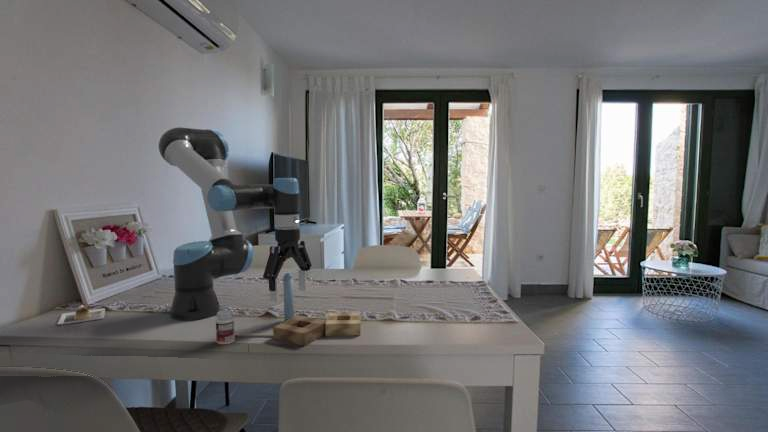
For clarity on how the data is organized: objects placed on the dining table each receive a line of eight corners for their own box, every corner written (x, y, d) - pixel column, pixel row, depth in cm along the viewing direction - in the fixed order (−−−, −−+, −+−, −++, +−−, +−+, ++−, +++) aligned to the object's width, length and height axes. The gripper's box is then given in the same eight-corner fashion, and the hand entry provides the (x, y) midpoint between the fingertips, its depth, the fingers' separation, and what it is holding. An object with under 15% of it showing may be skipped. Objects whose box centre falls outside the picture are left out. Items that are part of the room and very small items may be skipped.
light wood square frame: (325, 335, 124) (325, 323, 123) (328, 323, 134) (328, 312, 133) (360, 335, 124) (360, 323, 124) (360, 323, 134) (360, 312, 134)
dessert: (103, 321, 137) (103, 306, 137) (57, 327, 131) (56, 312, 131) (105, 311, 148) (104, 297, 147) (62, 316, 141) (61, 302, 141)
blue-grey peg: (282, 322, 135) (281, 273, 134) (288, 319, 138) (287, 271, 136) (289, 323, 134) (288, 274, 132) (296, 320, 136) (295, 272, 135)
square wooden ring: (273, 338, 121) (273, 326, 121) (298, 326, 131) (297, 315, 131) (304, 346, 116) (304, 333, 116) (328, 332, 126) (328, 321, 126)
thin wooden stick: (220, 336, 123) (220, 334, 123) (222, 335, 124) (221, 333, 124) (277, 337, 123) (277, 335, 123) (278, 336, 123) (278, 334, 123)
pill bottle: (219, 338, 122) (218, 309, 121) (236, 338, 122) (235, 309, 121) (214, 345, 117) (213, 315, 116) (232, 344, 117) (231, 314, 116)
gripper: (268, 233, 120) (271, 307, 122) (321, 224, 142) (322, 287, 144) (248, 232, 123) (251, 304, 125) (302, 223, 146) (304, 285, 147)
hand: (289, 295), depth 135 cm, fingers open, 13 cm apart
